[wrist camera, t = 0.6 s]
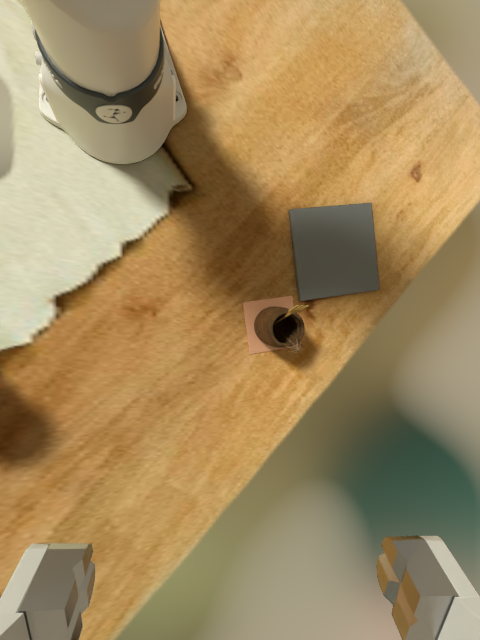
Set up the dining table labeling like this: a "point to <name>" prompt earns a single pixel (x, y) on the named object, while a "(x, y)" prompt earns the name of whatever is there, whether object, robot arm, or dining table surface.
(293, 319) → the utensil holder
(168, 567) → the dining table surface
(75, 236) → the dining table surface
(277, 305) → the pink tile
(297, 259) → the charcoal mat
